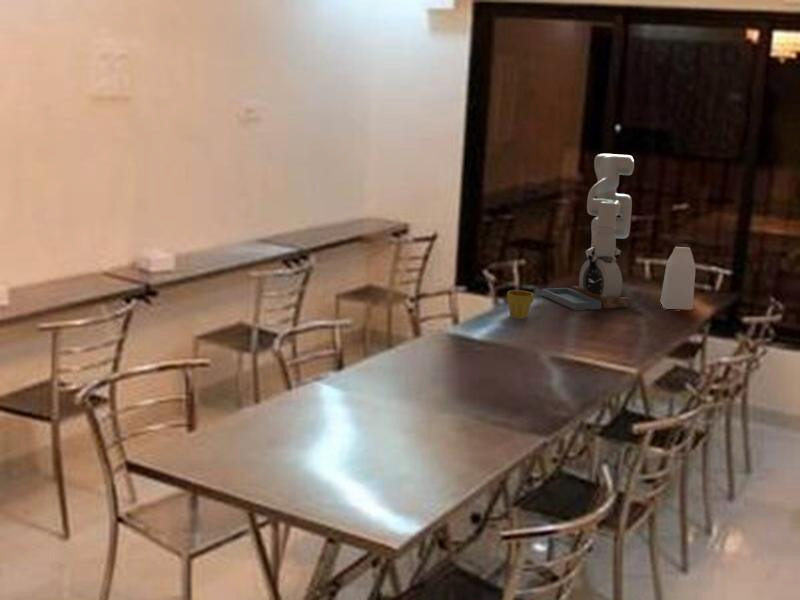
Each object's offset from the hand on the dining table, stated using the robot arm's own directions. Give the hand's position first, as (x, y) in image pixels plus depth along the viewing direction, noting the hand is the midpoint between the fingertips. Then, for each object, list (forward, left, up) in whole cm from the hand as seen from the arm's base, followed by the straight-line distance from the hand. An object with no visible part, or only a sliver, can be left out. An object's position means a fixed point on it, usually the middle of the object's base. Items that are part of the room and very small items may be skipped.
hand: (601, 269), depth 458 cm
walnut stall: (0, 0, -14) cm, 14 cm away
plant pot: (+50, +19, -14) cm, 55 cm away
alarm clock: (0, 0, -14) cm, 14 cm away
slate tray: (+14, 0, -14) cm, 20 cm away
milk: (-28, +17, -14) cm, 36 cm away
